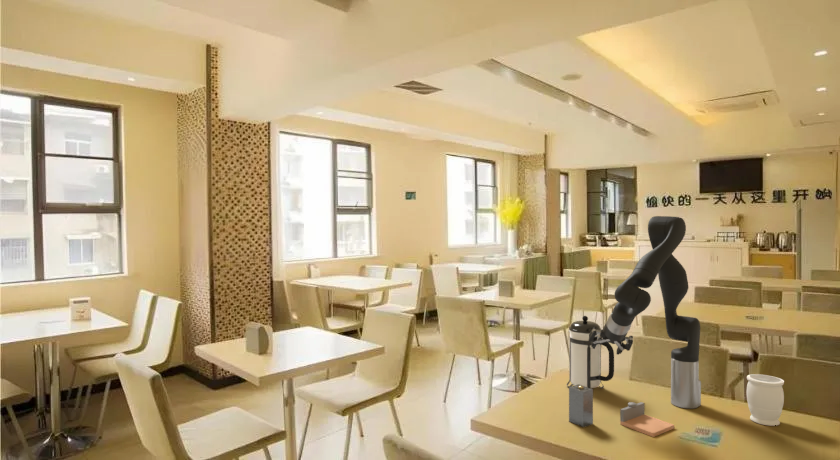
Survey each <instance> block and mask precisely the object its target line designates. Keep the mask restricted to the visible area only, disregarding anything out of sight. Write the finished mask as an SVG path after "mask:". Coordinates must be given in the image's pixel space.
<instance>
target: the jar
mask: <svg viewBox="0 0 840 460" xmlns="http://www.w3.org/2000/svg"><path fill="white" fill-rule="evenodd" d="M746 379H747V381H748V382H747V385H746V401H747V406H748V411H749V412H750V414H751V415H750V416H749V419H750V420H751V421H752V422H754V423H756V424H759V425H762V426H763V425H765V426H771V427H775V425H776V426H779V425H780V424H781V422H780V420H779V418H780V417H781V415H782V413H783V408H784V401H785V393H784V389H783V385H784V384H785V380H784V379H782V378H780V377H776V376H772V375H767V374H762V373H761V374H760V373H755V374H754V373H753V374H752V373H751V374H748V375H746Z"/></svg>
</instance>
